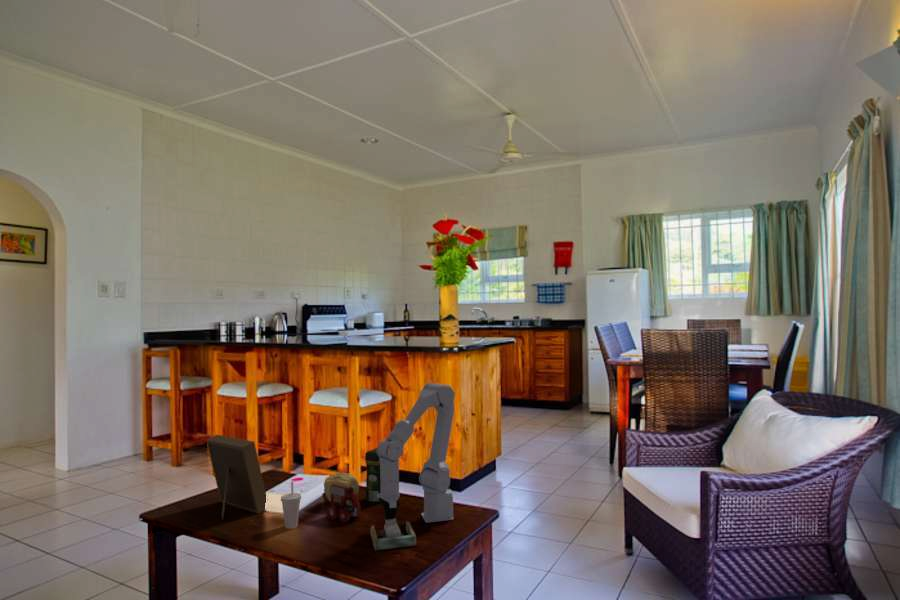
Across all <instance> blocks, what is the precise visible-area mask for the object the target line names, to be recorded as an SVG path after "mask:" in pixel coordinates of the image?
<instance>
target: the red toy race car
mask: <svg viewBox="0 0 900 600" xmlns="http://www.w3.org/2000/svg"><path fill="white" fill-rule="evenodd" d="M330 493H331V502H330V506H329V507H328V508H327V510H326V513H327V517H328V518H329V520H336V519H337V518H338V519H339V520H340V522H342V523H347V522H349V520H350V519H351V517H353V518H357V517H359V516H360V515H361V511H362V510H361V503H360V501H359V497H358V496H357V494H356V493H354V488H353V487H349V488H348V487H346V486H341V485H336V484H333V485H331V486H330Z"/></svg>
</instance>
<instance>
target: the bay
mask: <svg viewBox="0 0 900 600" xmlns="http://www.w3.org/2000/svg"><path fill="white" fill-rule="evenodd" d="M405 531H406V533H407V535H403V536H398V537H390V538H384V537H382V538H378V535H377V532H376V529H375V525H370V537H371V542H372V544H373V548H374V551H379V550H387V549H397V548H405V547H410V546H411V547H415V546H417V536H416V533H415V531H414V529H413V527H412V525H411V522H410V521H405Z"/></svg>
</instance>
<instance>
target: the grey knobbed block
mask: <svg viewBox="0 0 900 600" xmlns="http://www.w3.org/2000/svg"><path fill="white" fill-rule="evenodd" d="M384 521H385V524H384V525H383V529H381V537H382V538H390V537H398V536H404V534H403V532H402V531H401V527H399V525H398V523H397V518H395V519H387V520H386V519H384Z"/></svg>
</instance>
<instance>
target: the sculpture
mask: <svg viewBox="0 0 900 600" xmlns="http://www.w3.org/2000/svg"><path fill="white" fill-rule="evenodd" d="M333 484H336V485H341V486H346V487H348V488H349V487H353V488H354V493H356V494H357V497H358V495H359V492H360V491H359V490H360V486H359V482H358V480H357V478H356V477H355V476H354V475H353V474H350V473H346V472H335V473H334V474H332V475H329V476H327V477H326V478H325V480H324V482H323V487H324V489H323V493H324V494H325V495H326V498H327V500H328V501H329V502H330V503H331V493H330V486H331V485H333Z"/></svg>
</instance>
